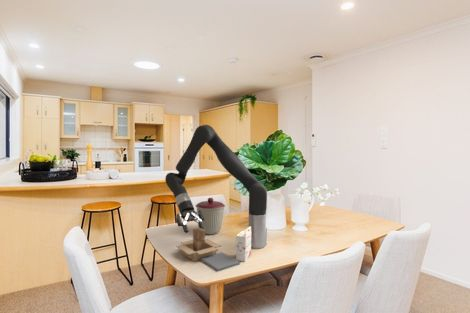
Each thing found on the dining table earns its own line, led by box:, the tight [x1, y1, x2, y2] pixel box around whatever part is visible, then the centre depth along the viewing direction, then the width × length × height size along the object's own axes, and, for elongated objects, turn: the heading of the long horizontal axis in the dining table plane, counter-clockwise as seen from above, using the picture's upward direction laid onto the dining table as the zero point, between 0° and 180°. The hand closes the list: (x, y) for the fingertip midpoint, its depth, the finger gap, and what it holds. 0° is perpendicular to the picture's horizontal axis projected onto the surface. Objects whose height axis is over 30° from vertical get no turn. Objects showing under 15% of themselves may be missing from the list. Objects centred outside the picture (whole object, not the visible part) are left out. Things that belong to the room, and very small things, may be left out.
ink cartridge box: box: [235, 226, 252, 263], centre depth 130 cm, size 9×5×15 cm, turn 158°
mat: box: [199, 251, 241, 272], centre depth 124 cm, size 12×14×1 cm
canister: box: [195, 197, 226, 235], centre depth 166 cm, size 18×18×21 cm
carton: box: [176, 238, 222, 262], centre depth 133 cm, size 18×18×4 cm
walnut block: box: [192, 227, 206, 251], centre depth 133 cm, size 4×4×12 cm
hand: (195, 230), depth 136 cm, fingers open, 8 cm apart
